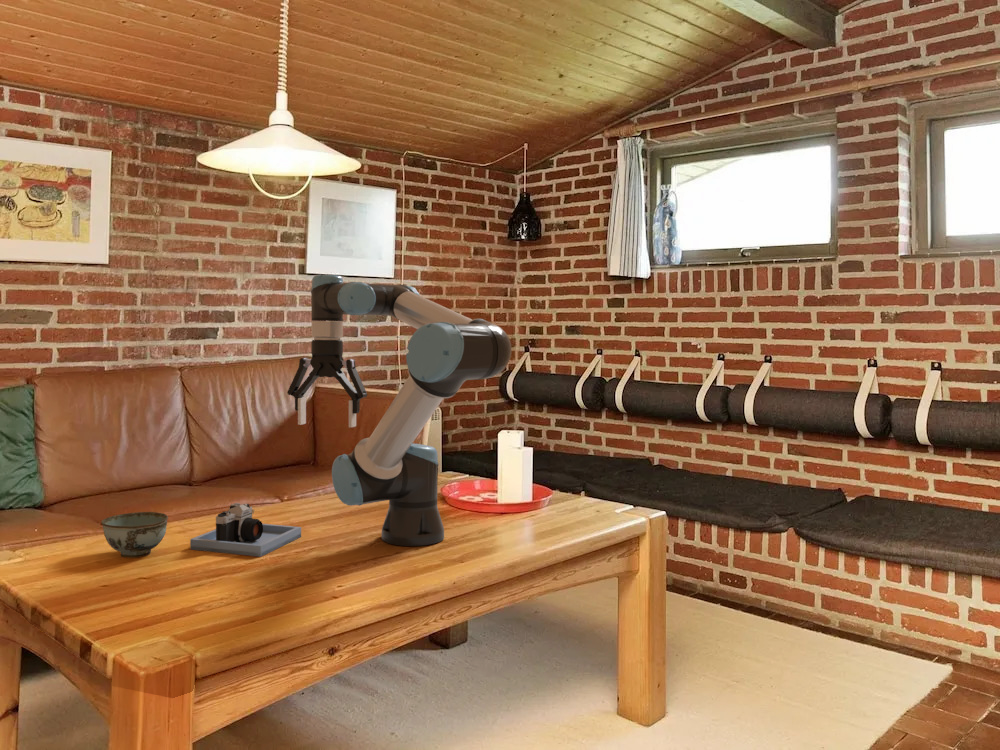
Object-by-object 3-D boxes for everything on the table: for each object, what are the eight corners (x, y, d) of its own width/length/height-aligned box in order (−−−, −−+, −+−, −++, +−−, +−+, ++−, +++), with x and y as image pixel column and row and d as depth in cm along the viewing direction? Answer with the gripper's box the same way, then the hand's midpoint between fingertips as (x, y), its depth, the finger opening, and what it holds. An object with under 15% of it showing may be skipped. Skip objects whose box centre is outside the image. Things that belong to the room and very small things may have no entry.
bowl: (182, 549, 188) (181, 514, 187) (138, 565, 175) (137, 528, 174) (134, 543, 192) (133, 509, 191) (87, 558, 179) (87, 522, 179)
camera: (242, 549, 185) (244, 509, 185) (210, 546, 187) (213, 506, 187) (270, 539, 198) (272, 502, 198) (240, 536, 200) (242, 499, 200)
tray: (301, 536, 200) (301, 527, 200) (260, 556, 183) (260, 546, 183) (235, 530, 205) (235, 521, 205) (190, 549, 188) (190, 539, 187)
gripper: (380, 339, 202) (380, 426, 203) (289, 337, 208) (289, 421, 209) (368, 340, 194) (367, 429, 196) (273, 338, 201) (273, 424, 202)
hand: (326, 425), depth 203 cm, fingers open, 13 cm apart
